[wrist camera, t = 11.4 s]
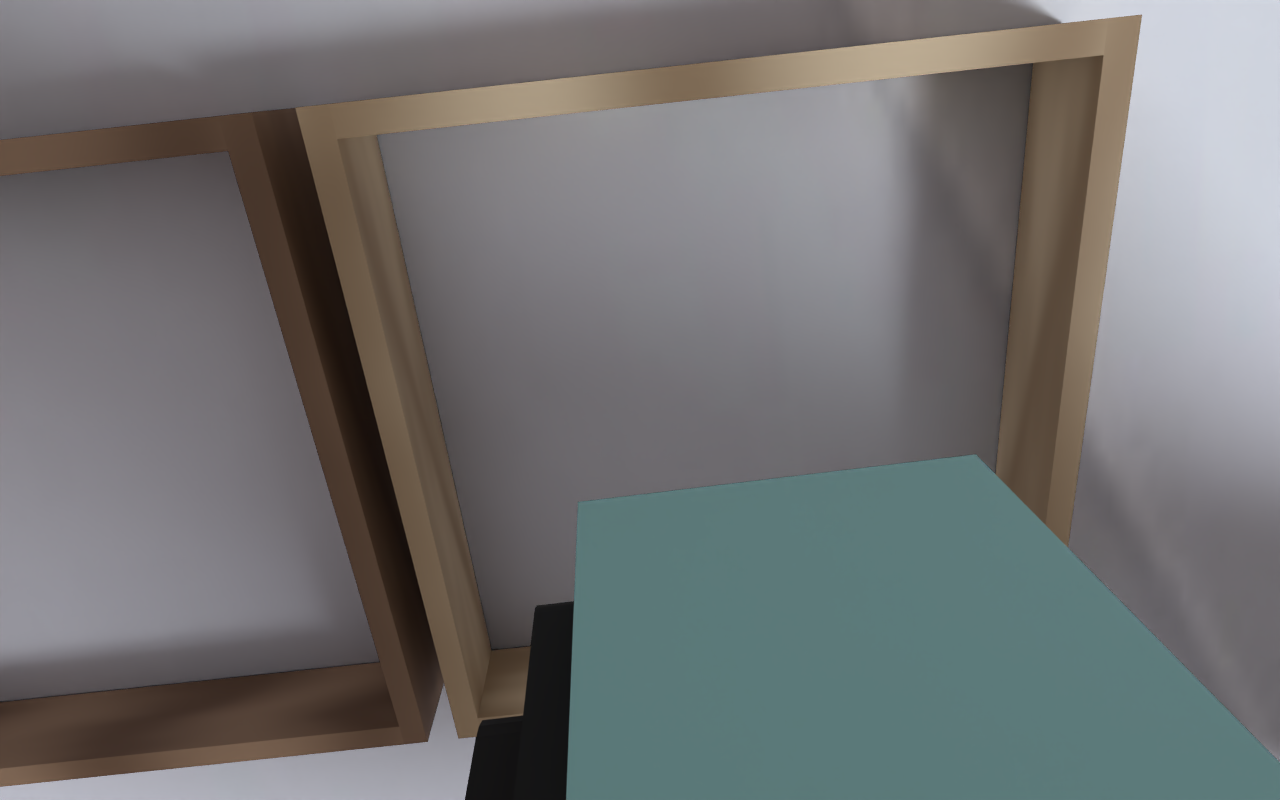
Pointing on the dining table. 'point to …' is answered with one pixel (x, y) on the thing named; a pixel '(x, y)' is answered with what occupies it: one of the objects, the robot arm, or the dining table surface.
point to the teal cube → (874, 653)
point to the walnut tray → (356, 478)
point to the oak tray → (1056, 131)
